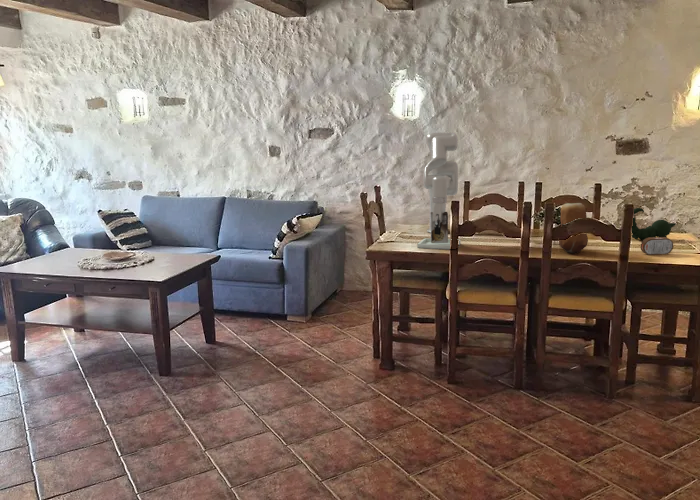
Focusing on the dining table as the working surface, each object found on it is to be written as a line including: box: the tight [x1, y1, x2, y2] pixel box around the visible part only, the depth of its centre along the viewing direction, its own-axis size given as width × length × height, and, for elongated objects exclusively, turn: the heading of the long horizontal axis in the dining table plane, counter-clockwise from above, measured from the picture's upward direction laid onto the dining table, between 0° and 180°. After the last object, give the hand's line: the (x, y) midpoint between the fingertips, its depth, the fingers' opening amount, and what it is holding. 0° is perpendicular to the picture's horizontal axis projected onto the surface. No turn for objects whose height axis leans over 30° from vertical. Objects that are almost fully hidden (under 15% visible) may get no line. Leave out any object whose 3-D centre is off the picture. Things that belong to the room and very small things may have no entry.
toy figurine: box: [631, 207, 677, 241], centre depth 306 cm, size 9×19×25 cm
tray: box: [416, 237, 461, 251], centre depth 307 cm, size 16×20×2 cm
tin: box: [640, 237, 674, 256], centre depth 275 cm, size 15×3×8 cm, turn 92°
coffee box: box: [430, 211, 449, 243], centre depth 305 cm, size 9×6×16 cm
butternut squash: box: [558, 202, 589, 254], centre depth 281 cm, size 14×13×25 cm
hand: (439, 232), depth 306 cm, fingers closed on coffee box, 7 cm apart
